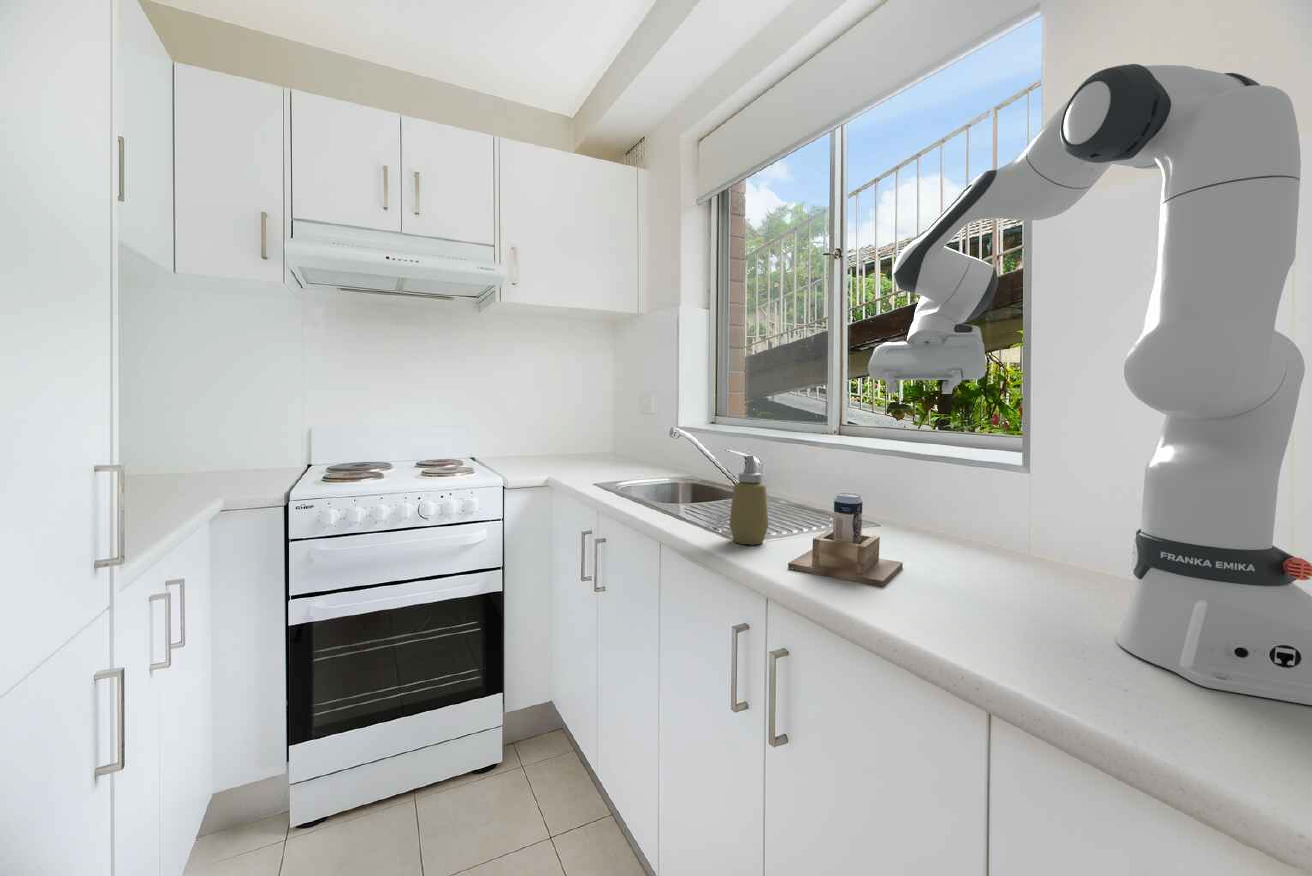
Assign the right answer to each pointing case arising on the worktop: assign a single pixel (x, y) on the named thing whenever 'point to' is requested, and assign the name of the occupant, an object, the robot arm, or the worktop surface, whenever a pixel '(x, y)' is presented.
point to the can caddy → (848, 560)
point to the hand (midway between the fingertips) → (918, 391)
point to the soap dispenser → (749, 507)
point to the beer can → (847, 518)
